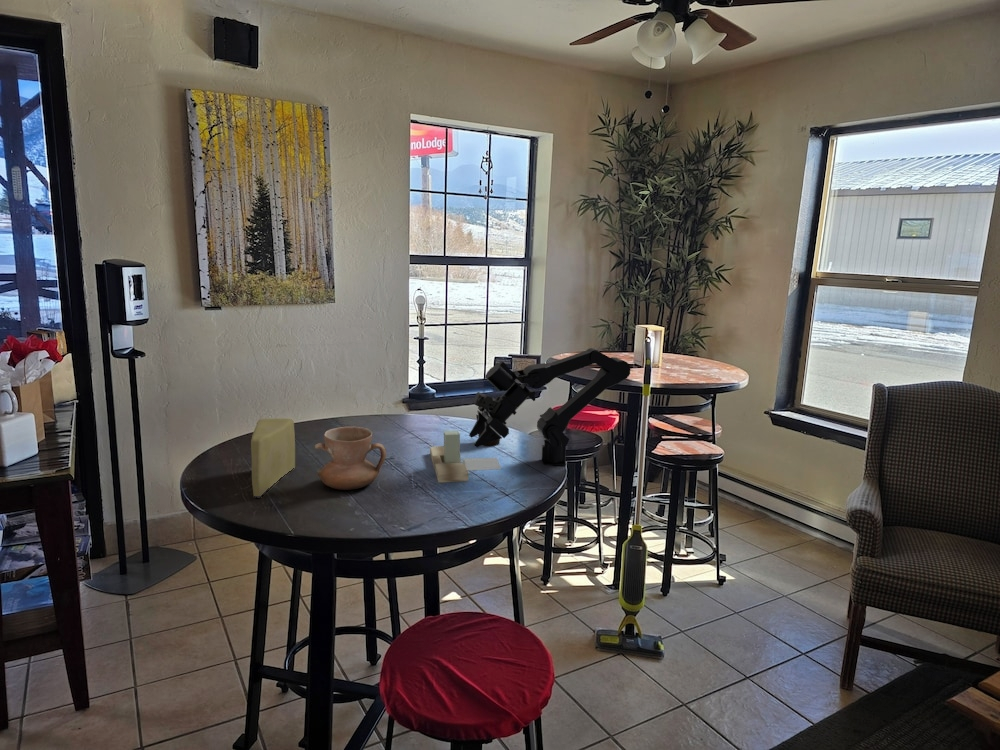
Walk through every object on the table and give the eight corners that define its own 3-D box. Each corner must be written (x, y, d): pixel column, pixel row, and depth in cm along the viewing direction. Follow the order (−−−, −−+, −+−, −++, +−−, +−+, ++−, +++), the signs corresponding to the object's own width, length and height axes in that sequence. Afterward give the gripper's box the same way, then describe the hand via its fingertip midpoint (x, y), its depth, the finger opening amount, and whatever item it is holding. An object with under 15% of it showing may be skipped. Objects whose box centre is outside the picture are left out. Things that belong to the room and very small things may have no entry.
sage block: (457, 463, 185) (457, 430, 183) (459, 468, 182) (459, 434, 180) (443, 464, 185) (443, 431, 183) (445, 469, 181) (445, 435, 179)
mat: (496, 458, 191) (496, 457, 191) (502, 470, 182) (502, 469, 182) (463, 459, 190) (463, 458, 190) (466, 471, 180) (466, 470, 180)
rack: (456, 453, 195) (456, 445, 195) (468, 481, 172) (468, 472, 172) (430, 454, 194) (430, 446, 193) (438, 483, 171) (438, 474, 170)
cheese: (277, 499, 158) (274, 440, 155) (236, 499, 158) (232, 441, 155) (296, 468, 180) (294, 416, 177) (261, 469, 179) (258, 417, 176)
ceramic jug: (311, 495, 161) (310, 441, 158) (319, 474, 175) (318, 424, 172) (384, 494, 163) (384, 441, 160) (386, 474, 177) (387, 424, 174)
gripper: (484, 376, 189) (448, 414, 189) (496, 390, 171) (456, 432, 172) (510, 400, 192) (475, 438, 193) (525, 417, 175) (486, 458, 175)
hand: (472, 441), depth 183 cm, fingers open, 9 cm apart
